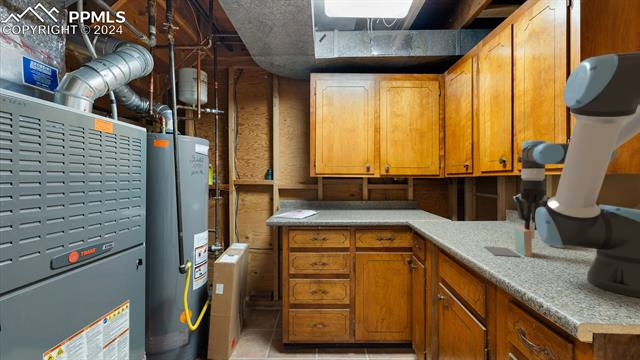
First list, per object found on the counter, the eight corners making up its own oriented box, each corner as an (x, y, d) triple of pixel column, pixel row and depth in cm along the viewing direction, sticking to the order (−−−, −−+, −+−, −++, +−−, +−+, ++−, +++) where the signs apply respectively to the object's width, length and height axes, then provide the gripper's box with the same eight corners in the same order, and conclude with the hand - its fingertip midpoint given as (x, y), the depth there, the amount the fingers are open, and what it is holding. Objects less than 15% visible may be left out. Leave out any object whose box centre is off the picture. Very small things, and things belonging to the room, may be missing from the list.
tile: (532, 256, 106) (531, 231, 106) (525, 256, 107) (524, 231, 107) (521, 250, 114) (520, 226, 114) (515, 250, 115) (514, 226, 115)
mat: (521, 257, 106) (521, 256, 105) (495, 255, 107) (495, 254, 107) (507, 248, 117) (507, 247, 117) (483, 247, 119) (483, 246, 119)
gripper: (546, 179, 111) (543, 236, 112) (509, 179, 114) (508, 234, 115) (557, 180, 104) (554, 241, 105) (518, 179, 107) (516, 239, 108)
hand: (530, 237), depth 110 cm, fingers closed
